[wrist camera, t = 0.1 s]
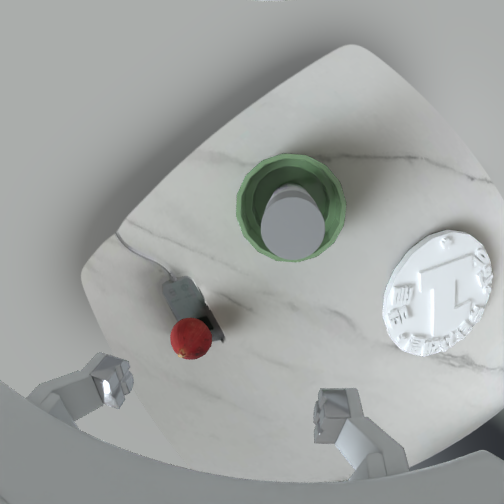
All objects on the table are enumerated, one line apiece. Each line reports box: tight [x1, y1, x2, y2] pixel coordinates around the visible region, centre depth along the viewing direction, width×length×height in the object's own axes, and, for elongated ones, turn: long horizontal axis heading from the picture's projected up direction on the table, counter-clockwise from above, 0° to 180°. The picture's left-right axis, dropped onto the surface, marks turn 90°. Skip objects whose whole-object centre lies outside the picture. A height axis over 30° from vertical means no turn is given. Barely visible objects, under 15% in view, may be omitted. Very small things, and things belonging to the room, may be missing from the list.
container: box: [261, 183, 325, 260], centre depth 26 cm, size 5×5×15 cm
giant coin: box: [383, 230, 493, 357], centre depth 33 cm, size 20×20×3 cm
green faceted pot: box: [236, 153, 346, 262], centre depth 30 cm, size 11×11×6 cm
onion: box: [171, 318, 212, 359], centre depth 37 cm, size 6×6×8 cm
